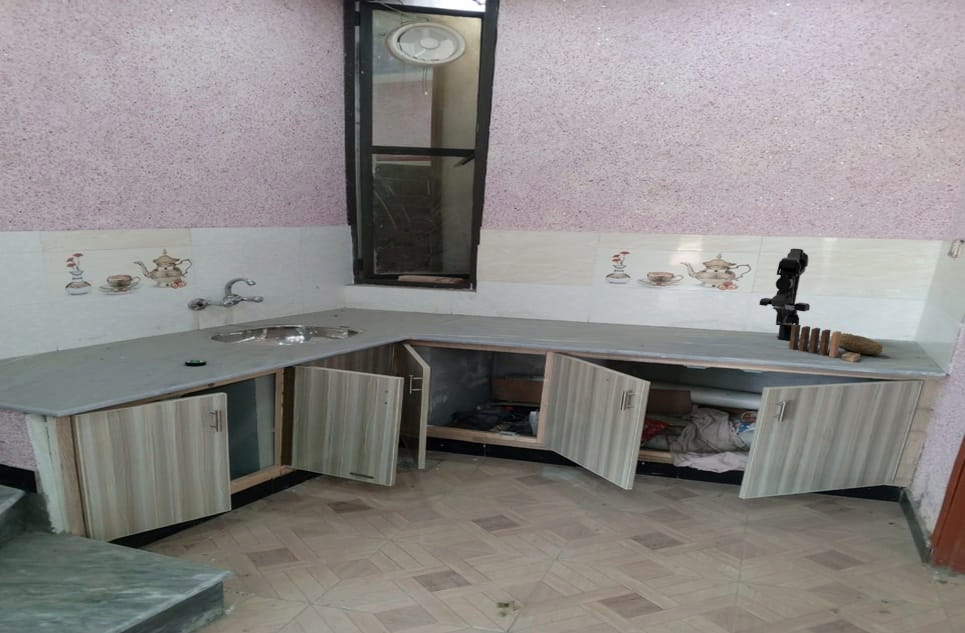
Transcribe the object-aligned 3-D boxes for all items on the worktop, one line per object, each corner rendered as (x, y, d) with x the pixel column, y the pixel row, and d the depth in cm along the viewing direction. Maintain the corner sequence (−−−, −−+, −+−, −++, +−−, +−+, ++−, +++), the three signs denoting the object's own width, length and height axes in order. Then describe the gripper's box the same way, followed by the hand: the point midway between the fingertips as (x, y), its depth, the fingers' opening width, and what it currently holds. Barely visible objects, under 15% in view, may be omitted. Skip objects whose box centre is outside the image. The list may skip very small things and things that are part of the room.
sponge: (828, 348, 259) (851, 349, 239) (833, 331, 259) (856, 331, 239) (859, 355, 257) (885, 357, 238) (864, 338, 257) (889, 339, 237)
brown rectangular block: (788, 348, 250) (792, 325, 248) (793, 347, 253) (796, 324, 251) (792, 349, 249) (795, 326, 247) (797, 347, 252) (800, 325, 250)
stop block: (841, 359, 234) (842, 354, 233) (848, 356, 239) (849, 352, 238) (852, 361, 231) (853, 357, 230) (859, 358, 236) (860, 354, 235)
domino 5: (828, 356, 238) (832, 332, 236) (833, 354, 242) (836, 331, 240) (833, 357, 237) (836, 333, 235) (837, 355, 240) (841, 331, 238)
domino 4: (818, 354, 241) (821, 330, 239) (823, 352, 244) (826, 329, 243) (822, 355, 240) (826, 331, 238) (827, 353, 243) (830, 330, 241)
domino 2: (798, 350, 247) (801, 327, 245) (803, 348, 250) (806, 326, 248) (802, 351, 246) (805, 328, 244) (807, 349, 249) (810, 326, 247)
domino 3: (808, 352, 244) (811, 329, 242) (813, 350, 247) (816, 327, 245) (812, 353, 243) (815, 329, 241) (817, 351, 246) (820, 328, 244)
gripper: (755, 287, 252) (751, 322, 255) (801, 292, 238) (796, 330, 241) (767, 285, 259) (762, 319, 262) (812, 290, 246) (807, 327, 249)
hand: (781, 324), depth 253 cm, fingers closed
